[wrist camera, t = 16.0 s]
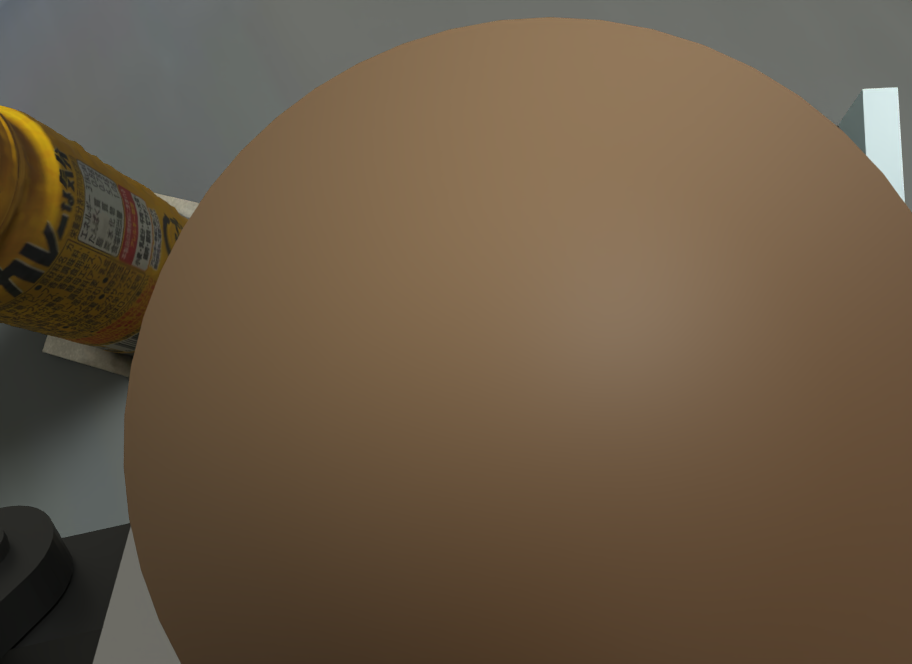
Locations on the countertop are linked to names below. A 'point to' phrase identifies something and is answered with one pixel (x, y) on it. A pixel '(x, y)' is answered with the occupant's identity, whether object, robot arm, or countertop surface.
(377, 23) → the countertop surface
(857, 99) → the pale blue rack
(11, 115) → the condiment
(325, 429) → the wooden peg stand
